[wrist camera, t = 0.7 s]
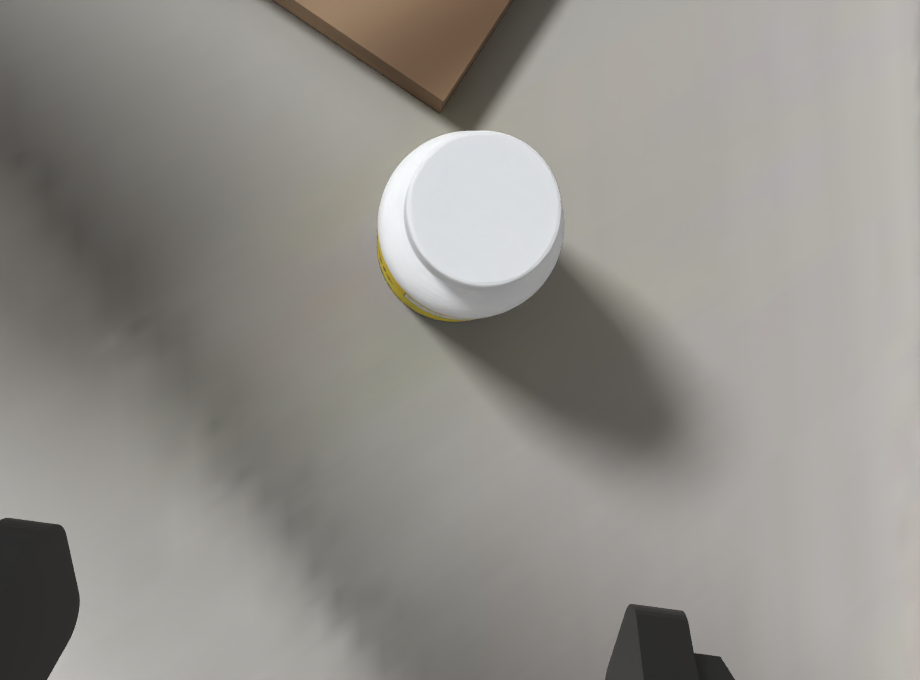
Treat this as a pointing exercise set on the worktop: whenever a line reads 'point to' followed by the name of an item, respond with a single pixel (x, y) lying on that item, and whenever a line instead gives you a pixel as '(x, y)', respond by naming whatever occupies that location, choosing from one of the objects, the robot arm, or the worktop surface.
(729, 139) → the worktop surface
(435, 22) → the walnut board
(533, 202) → the supplement bottle
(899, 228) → the worktop surface
